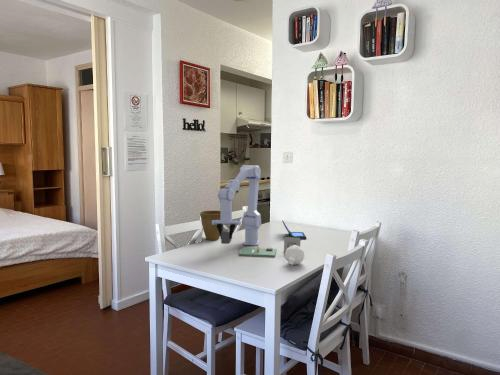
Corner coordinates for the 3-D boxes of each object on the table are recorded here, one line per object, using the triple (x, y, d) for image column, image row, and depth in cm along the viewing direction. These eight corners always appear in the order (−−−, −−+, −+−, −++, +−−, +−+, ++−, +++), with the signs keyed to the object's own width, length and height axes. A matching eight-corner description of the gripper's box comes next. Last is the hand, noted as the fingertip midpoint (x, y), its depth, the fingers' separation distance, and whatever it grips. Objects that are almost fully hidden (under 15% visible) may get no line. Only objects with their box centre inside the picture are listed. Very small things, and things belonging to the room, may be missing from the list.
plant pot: (221, 242, 218) (221, 214, 216) (196, 241, 221) (196, 213, 219) (228, 236, 232) (228, 210, 231) (204, 235, 235) (204, 209, 234)
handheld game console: (306, 239, 226) (306, 224, 225) (283, 239, 226) (284, 224, 225) (302, 234, 242) (303, 219, 241) (281, 233, 242) (281, 219, 241)
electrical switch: (283, 253, 195) (283, 237, 195) (284, 252, 199) (284, 236, 199) (300, 254, 193) (300, 238, 193) (300, 253, 198) (301, 237, 198)
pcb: (242, 249, 203) (242, 242, 203) (276, 250, 201) (276, 244, 200) (238, 255, 191) (238, 248, 191) (274, 257, 189) (275, 250, 188)
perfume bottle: (285, 256, 184) (279, 266, 173) (290, 239, 181) (285, 248, 170) (302, 262, 182) (297, 273, 171) (308, 246, 179) (303, 256, 168)
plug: (223, 240, 198) (223, 228, 197) (231, 240, 197) (231, 229, 196) (221, 243, 192) (221, 231, 191) (229, 243, 191) (229, 231, 191)
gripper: (210, 213, 190) (210, 240, 191) (239, 214, 188) (239, 241, 189) (213, 210, 197) (213, 236, 198) (241, 211, 195) (241, 237, 196)
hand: (226, 238), depth 194 cm, fingers closed on plug, 4 cm apart
